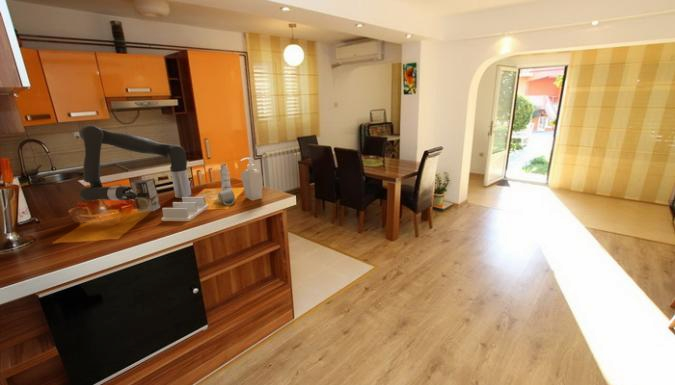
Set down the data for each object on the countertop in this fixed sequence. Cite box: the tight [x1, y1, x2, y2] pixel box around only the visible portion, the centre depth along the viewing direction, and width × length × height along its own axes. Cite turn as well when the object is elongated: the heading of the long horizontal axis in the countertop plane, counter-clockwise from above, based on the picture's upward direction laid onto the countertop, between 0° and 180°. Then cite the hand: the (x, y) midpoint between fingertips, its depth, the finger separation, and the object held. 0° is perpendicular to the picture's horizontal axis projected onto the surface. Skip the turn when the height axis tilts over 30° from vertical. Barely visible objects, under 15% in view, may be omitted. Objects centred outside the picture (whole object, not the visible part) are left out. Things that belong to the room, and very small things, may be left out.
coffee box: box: [130, 178, 161, 212], centre depth 164 cm, size 9×6×16 cm
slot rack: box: [160, 196, 209, 222], centre depth 169 cm, size 21×15×6 cm
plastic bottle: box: [218, 163, 233, 192], centre depth 200 cm, size 6×7×20 cm
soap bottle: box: [239, 156, 264, 201], centre depth 190 cm, size 12×10×26 cm
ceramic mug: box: [217, 189, 236, 207], centre depth 184 cm, size 11×8×8 cm
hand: (149, 193), depth 163 cm, fingers closed on coffee box, 6 cm apart
